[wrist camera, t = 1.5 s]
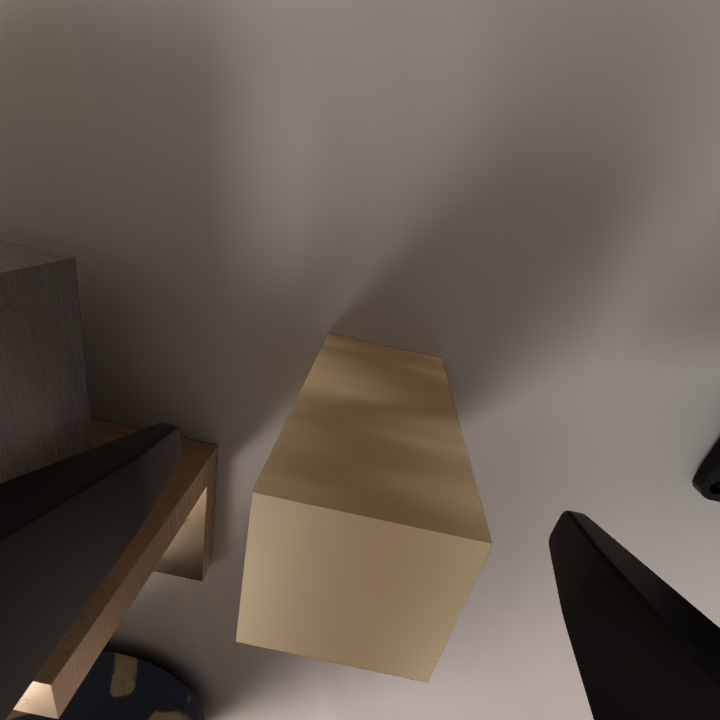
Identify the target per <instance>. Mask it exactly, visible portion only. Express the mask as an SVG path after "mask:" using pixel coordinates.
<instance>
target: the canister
mask: <svg viewBox="0 0 720 720" xmlns="http://www.w3.org/2000/svg"><path fill="white" fill-rule="evenodd" d="M6 720H205V719H204V716H203V712H202V709H201V707H200V705H199V703H198V701H197V699H196V698H195V696H194V695H193V694H192V693H191V691H190V690H189V689H188V688H187V687H186V686H185V685H184V684H183V683H181V682H180V681H179V680H178V679H176V678H175V677H173V676H172V675H171V674H169V673H167V672H166V671H164V670H162V669H160V668H158V667H156V666H155V665H152V664H150V663H148V662H145V661H143V660H140V659H137V658H134V657H131V656H127V655H123V654H119V653H111V652H101V653H100V655H99V656H98V658H97V659H96V661H95V663H94V664H93V666H92V667H91V669H90V670H89V672H88V673H87V675H86V677H85V678H84V680H83V681H82V683H81V684H80V686H79V688H78V689H77V691H76V692H75V694H74V695H73V697H72V698H71V700H70V702H69V703H68V705H67V706H66V708H65V709H64V711H63V713H62V714H61V716H60V717H59V719H54V718H50V717H45V716H41V715H36V714H31V713H27V712H22V711H17V710H12V712H11V713H10V715H9V716H8V717H7V719H6Z"/></svg>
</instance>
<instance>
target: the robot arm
mask: <svg viewBox="0 0 720 720" xmlns="http://www.w3.org/2000/svg"><path fill="white" fill-rule="evenodd" d="M179 458H180V428H179V427H178V426H177V425H173V424H168V423H163V422H161V423H157V424H155V425H152V426H149V427H147V428H144V429H141V430H139V431H136V432H134V433H131V434H128V435H126V436H123V437H120V438H118V439H115V440H113V441H110V442H107V443H105V444H102V445H100V446H97V447H94V448H92V449H89V450H86V451H84V452H81V453H79V454H76V455H73V456H71V457H68V458H65V459H63V460H60V461H58V462H55V463H52V464H50V465H47V466H44V467H42V468H39V469H37V470H34V471H31V472H29V473H26V474H23V475H21V476H18V477H16V478H13V479H10V480H8V481H5V482H2V483H0V720H6V719H7V717H8V716H9V715H10V713H11V712H12V710H13V709H14V707H15V706H16V705H17V703H18V702H19V700H20V699H21V698H22V696H23V695H24V693H25V692H26V690H27V689H28V688H29V686H30V685H31V683H32V682H33V681H34V679H35V678H36V676H37V675H38V673H39V672H40V671H41V669H42V668H43V666H44V665H45V664H46V662H47V661H48V659H49V658H50V656H51V655H52V654H53V652H54V651H55V649H56V648H57V647H58V645H59V644H60V642H61V641H62V639H63V638H64V637H65V635H66V634H67V632H68V631H69V630H70V628H71V627H72V625H73V624H74V622H75V621H76V620H77V618H78V617H79V615H80V614H81V613H82V611H83V610H84V608H85V607H86V605H87V604H88V603H89V601H90V600H91V598H92V597H93V596H94V594H95V593H96V591H97V590H98V588H99V587H100V586H101V584H102V583H103V581H104V580H105V579H106V577H107V576H108V574H109V573H110V571H111V570H112V569H113V567H114V566H115V564H116V563H117V562H118V560H119V559H120V557H121V556H122V554H123V553H124V552H125V550H126V549H127V547H128V546H129V545H130V543H131V542H132V540H133V539H134V537H135V536H136V535H137V533H138V532H139V530H140V529H141V527H142V526H143V524H144V523H145V521H146V519H147V518H148V516H149V514H150V512H151V511H152V509H153V507H154V505H155V504H156V502H157V500H158V498H159V496H160V495H161V493H162V491H163V489H164V487H165V486H166V484H167V482H168V480H169V478H170V477H171V475H172V473H173V471H174V469H175V468H176V466H177V464H178V461H179ZM692 483H693V486H694V487H695V488H696V489H697V490H698V491H699V492H700V493H701V494H702V495H703V496H704V497H705V498H707V499H709V500H714V501H718V502H720V439H719V441H718V442H717V444H716V445H715V447H714V448H713V450H712V451H711V452H710V454H709V455H708V457H707V458H706V460H705V461H704V463H703V464H702V465H701V467H700V468H699V470H698V471H697V473H696V474H695V476H694V478H693V480H692ZM713 483H714V484H713ZM549 548H550V553H551V559H552V564H553V569H554V574H555V579H556V584H557V589H558V594H559V599H560V604H561V609H562V613H563V617H564V621H565V624H566V628H567V631H568V634H569V638H570V641H571V645H572V648H573V651H574V655H575V658H576V661H577V665H578V668H579V671H580V675H581V678H582V681H583V685H584V688H585V691H586V695H587V698H588V701H589V705H590V708H591V711H592V715H593V718H594V720H720V628H719V627H718V626H717V625H715V624H714V623H713V622H712V621H711V620H709V619H708V618H707V617H706V616H705V615H704V614H702V613H701V612H700V611H699V610H698V609H696V608H695V607H694V606H693V605H692V604H690V603H689V602H688V601H687V600H686V599H685V598H683V597H682V596H681V595H680V594H679V593H677V592H676V591H675V590H674V589H673V588H672V587H670V586H669V585H668V584H667V583H666V582H664V581H663V580H662V579H661V578H660V577H658V576H657V575H656V574H655V573H654V572H653V571H651V570H650V569H649V568H648V567H647V566H645V565H644V564H643V563H642V562H641V561H640V560H638V559H637V558H636V557H635V556H634V555H632V554H631V553H630V552H629V551H628V550H627V549H625V548H624V547H623V546H622V545H621V544H619V543H618V542H617V541H616V540H615V539H613V538H612V537H611V536H610V535H609V534H608V533H606V532H605V531H604V530H603V529H602V528H600V527H599V526H598V525H597V524H596V523H595V522H593V521H592V520H591V519H590V518H589V517H587V516H586V515H585V514H582V513H578V512H573V511H564V512H563V513H562V514H561V516H560V518H559V520H558V522H557V523H556V525H555V527H554V529H553V531H552V533H551V535H550V538H549Z"/></svg>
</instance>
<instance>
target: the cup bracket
mask: <svg viewBox="0 0 720 720" xmlns="http://www.w3.org/2000/svg"><path fill="white" fill-rule="evenodd" d="M139 430H141V429H138V428H133V427H128V426H124V425H119V424H114V423H110V422H105V421H100V420H96V419H91V418H90V408H89V397H88V387H87V377H86V366H85V356H84V346H83V336H82V325H81V315H80V305H79V294H78V284H77V274H76V264H75V257H70V256H65V255H61V254H56V253H52V252H47V251H42V250H38V249H33V248H28V247H24V246H19V245H15V244H10V243H5V242H1V241H0V483H2V482H5V481H8V480H10V479H13V478H16V477H18V476H21V475H23V474H26V473H29V472H31V471H34V470H37V469H39V468H42V467H44V466H47V465H50V464H52V463H55V462H58V461H60V460H63V459H65V458H68V457H71V456H73V455H76V454H79V453H81V452H84V451H86V450H89V449H92V448H94V447H97V446H100V445H102V444H105V443H107V442H110V441H113V440H115V439H118V438H120V437H123V436H126V435H128V434H131V433H134V432H136V431H139ZM217 453H218V446H216V445H212V444H207V443H202V442H198V441H193V440H189V439H184V438H180V458H179V461H178V464H177V466H176V468H175V469H174V471H173V473H172V475H171V477H170V478H169V480H168V482H167V484H166V486H165V487H164V489H163V491H162V493H161V495H160V496H159V498H158V500H157V502H156V504H155V505H154V507H153V509H152V511H151V512H150V514H149V516H148V518H147V519H146V521H145V523H144V524H143V526H142V527H141V529H140V530H139V532H138V533H137V535H136V536H135V537H134V539H133V540H132V542H131V543H130V545H129V546H128V547H127V549H126V550H125V552H124V553H123V554H122V556H121V557H120V559H119V560H118V562H117V563H116V564H115V566H114V567H113V569H112V570H111V571H110V573H109V574H108V576H107V577H106V579H105V580H104V581H103V583H102V584H101V586H100V587H99V588H98V590H97V591H96V593H95V594H94V596H93V597H92V598H91V600H90V601H89V603H88V604H87V605H86V607H85V608H84V610H83V611H82V613H81V614H80V615H79V617H78V618H77V620H76V621H75V622H74V624H73V625H72V627H71V628H70V630H69V631H68V632H67V634H66V635H65V637H64V638H63V639H62V641H61V642H60V644H59V645H58V647H57V648H56V649H55V651H54V652H53V654H52V655H51V656H50V658H49V659H48V661H47V662H46V664H45V665H44V666H43V668H42V669H41V671H40V672H39V673H38V675H37V676H36V678H35V679H34V681H33V682H32V683H31V685H30V686H29V688H28V689H27V690H26V692H25V693H24V695H23V696H22V698H21V699H20V700H19V702H18V703H17V705H16V706H15V707H14V709H13V710H17V711H22V712H27V713H31V714H36V715H41V716H45V717H50V718H54V719H59V717H60V716H61V714H62V713H63V711H64V709H65V708H66V706H67V705H68V703H69V702H70V700H71V698H72V697H73V695H74V694H75V692H76V691H77V689H78V688H79V686H80V684H81V683H82V681H83V680H84V678H85V677H86V675H87V673H88V672H89V670H90V669H91V667H92V666H93V664H94V663H95V661H96V659H97V658H98V656H99V655H100V653H101V652H102V650H103V648H104V647H105V645H106V644H107V642H108V641H109V639H110V637H111V636H112V634H113V633H114V631H115V630H116V628H117V627H118V625H119V623H120V622H121V620H122V619H123V617H124V616H125V614H126V612H127V611H128V609H129V608H130V606H131V605H132V603H133V601H134V600H135V598H136V597H137V595H138V594H139V592H140V591H141V589H142V587H143V586H144V584H145V583H146V581H147V580H148V578H149V576H150V575H151V573H152V572H153V571H157V572H162V573H166V574H171V575H176V576H180V577H185V578H190V579H194V580H199V581H203V579H204V577H205V575H206V573H207V571H208V569H209V567H210V565H211V552H212V535H213V519H214V502H215V486H216V469H217Z"/></svg>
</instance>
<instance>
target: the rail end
mask: <svg viewBox="0 0 720 720" xmlns="http://www.w3.org/2000/svg"><path fill="white" fill-rule="evenodd" d="M491 546H492V541H491V537H490V534H489V530H488V526H487V523H486V519H485V515H484V512H483V508H482V504H481V501H480V497H479V493H478V490H477V486H476V482H475V479H474V475H473V471H472V468H471V464H470V460H469V457H468V453H467V449H466V446H465V442H464V438H463V435H462V431H461V427H460V424H459V420H458V416H457V413H456V409H455V405H454V402H453V398H452V394H451V391H450V387H449V383H448V380H447V376H446V372H445V369H444V365H443V361H442V358H438V357H434V356H429V355H425V354H420V353H415V352H411V351H406V350H401V349H397V348H392V347H388V346H383V345H378V344H374V343H369V342H364V341H360V340H355V339H350V338H346V337H341V336H337V335H332V334H327V336H326V338H325V341H324V343H323V345H322V347H321V349H320V351H319V353H318V355H317V357H316V359H315V362H314V364H313V366H312V368H311V370H310V372H309V374H308V376H307V378H306V380H305V383H304V385H303V387H302V389H301V391H300V393H299V395H298V397H297V399H296V401H295V404H294V406H293V408H292V410H291V412H290V414H289V416H288V418H287V420H286V422H285V424H284V427H283V429H282V431H281V433H280V435H279V437H278V439H277V441H276V443H275V445H274V448H273V450H272V452H271V454H270V456H269V458H268V460H267V462H266V464H265V466H264V469H263V471H262V473H261V475H260V477H259V479H258V481H257V483H256V485H255V487H254V489H253V492H252V498H251V508H250V517H249V526H248V535H247V544H246V553H245V562H244V571H243V580H242V589H241V598H240V607H239V616H238V625H237V634H236V642H240V643H245V644H249V645H254V646H259V647H263V648H268V649H273V650H277V651H282V652H287V653H291V654H296V655H301V656H305V657H310V658H315V659H319V660H324V661H329V662H333V663H338V664H343V665H347V666H352V667H357V668H361V669H366V670H370V671H375V672H380V673H384V674H389V675H394V676H398V677H403V678H408V679H412V680H417V681H422V682H426V683H428V681H429V679H430V677H431V675H432V672H433V670H434V668H435V666H436V664H437V662H438V660H439V657H440V655H441V653H442V651H443V649H444V647H445V645H446V642H447V640H448V638H449V636H450V634H451V632H452V629H453V627H454V625H455V623H456V621H457V619H458V617H459V614H460V612H461V610H462V608H463V606H464V604H465V602H466V599H467V597H468V595H469V593H470V591H471V589H472V586H473V584H474V582H475V580H476V578H477V576H478V574H479V571H480V569H481V567H482V565H483V563H484V561H485V559H486V556H487V554H488V552H489V550H490V548H491Z"/></svg>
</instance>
